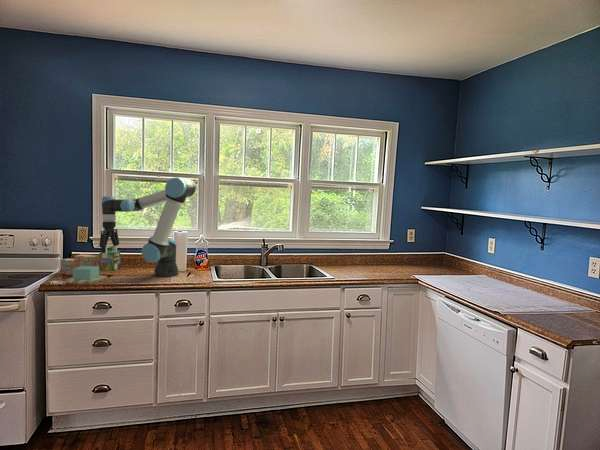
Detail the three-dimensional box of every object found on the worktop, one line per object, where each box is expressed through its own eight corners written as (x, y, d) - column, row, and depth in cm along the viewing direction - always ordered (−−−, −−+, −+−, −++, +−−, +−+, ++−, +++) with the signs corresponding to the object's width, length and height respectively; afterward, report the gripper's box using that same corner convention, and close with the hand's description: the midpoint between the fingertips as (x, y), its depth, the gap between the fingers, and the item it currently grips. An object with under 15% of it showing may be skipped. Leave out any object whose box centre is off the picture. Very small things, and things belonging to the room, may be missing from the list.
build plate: (107, 278, 242) (107, 275, 242) (89, 283, 226) (89, 281, 226) (83, 276, 244) (83, 274, 244) (64, 282, 228) (64, 279, 228)
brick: (99, 276, 240) (99, 266, 239) (89, 279, 230) (89, 269, 230) (82, 275, 240) (82, 265, 240) (72, 279, 230) (72, 268, 230)
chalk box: (106, 268, 255) (106, 245, 254) (121, 268, 255) (120, 245, 254) (99, 271, 246) (98, 247, 245) (113, 271, 245) (113, 247, 244)
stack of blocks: (60, 274, 250) (60, 255, 249) (67, 272, 256) (67, 253, 255) (92, 276, 247) (92, 256, 246) (99, 274, 254) (98, 255, 253)
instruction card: (69, 282, 230) (69, 281, 230) (60, 284, 223) (60, 284, 223) (53, 281, 231) (53, 280, 231) (44, 283, 224) (44, 283, 224)
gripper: (114, 220, 259) (114, 254, 261) (91, 222, 238) (92, 259, 239) (124, 220, 258) (125, 254, 260) (103, 222, 237) (104, 259, 238)
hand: (109, 256), depth 250 cm, fingers closed on chalk box, 9 cm apart
